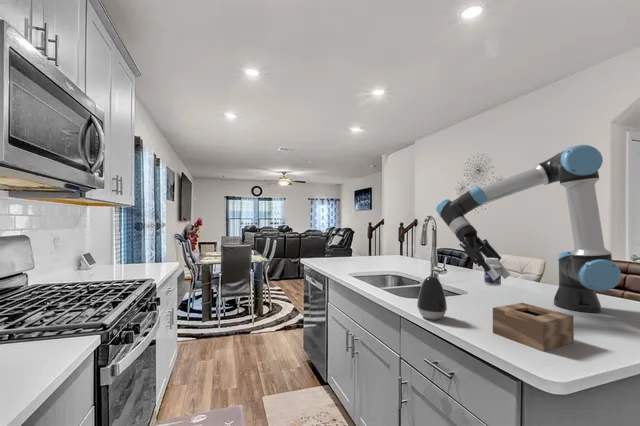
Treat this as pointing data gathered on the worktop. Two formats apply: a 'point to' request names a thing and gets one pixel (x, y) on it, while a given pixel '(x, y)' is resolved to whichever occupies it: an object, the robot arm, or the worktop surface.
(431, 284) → the dark grey egg speaker
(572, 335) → the drop box
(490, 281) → the pill bottle
